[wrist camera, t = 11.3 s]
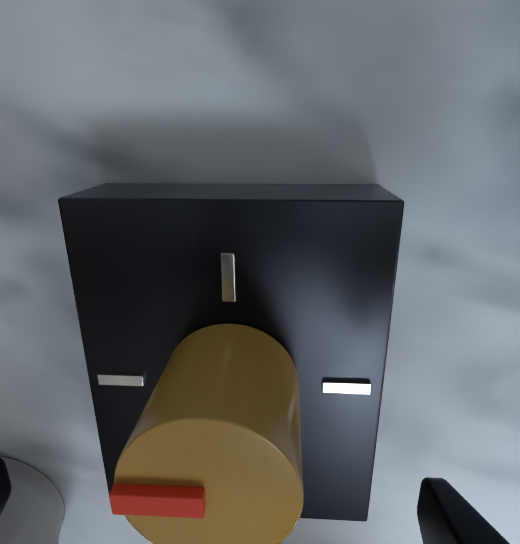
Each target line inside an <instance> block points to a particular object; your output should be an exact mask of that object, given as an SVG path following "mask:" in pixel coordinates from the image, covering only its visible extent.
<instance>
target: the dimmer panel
mask: <svg viewBox="0 0 520 544" xmlns="http://www.w3.org/2000/svg"><path fill="white" fill-rule="evenodd" d="M58 203H59V208H60V214H61V220H62V226H63V232H64V237H65V243H66V249H67V255H68V260H69V266H70V272H71V278H72V283H73V289H74V295H75V301H76V307H77V312H78V318H79V324H80V330H81V335H82V341H83V347H84V353H85V358H86V364H87V370H88V376H89V382H90V387H91V393H92V399H93V405H94V410H95V416H96V422H97V428H98V433H99V439H100V445H101V451H102V457H103V462H104V468H105V474H106V480H107V485H108V491H109V494H110V492H111V489H112V487H113V485H114V476H115V469H116V465H117V462H118V460H119V458H120V455H121V453H122V451H123V449H124V447H125V445H126V443H127V441H128V439H129V437H130V435H131V433H132V431H133V429H134V427H135V426H136V424H137V422H138V420H139V418H140V416H141V414H142V412H143V410H144V408H145V406H146V404H147V402H148V400H149V398H150V396H151V394H152V392H153V390H154V388H155V386H156V384H157V382H158V380H159V378H160V376H161V374H162V372H163V370H164V368H165V366H166V364H167V362H168V360H169V358H170V356H171V354H172V353H173V351H174V350H175V348H176V347H177V345H178V344H179V343H180V342H181V341H182V340H183V339H185V338H186V337H187V336H188V335H190V334H192V333H193V332H195V331H197V330H199V329H202V328H204V327H208V326H211V325H217V324H240V325H245V326H249V327H252V328H255V329H258V330H260V331H262V332H264V333H266V334H268V335H269V336H271V337H272V338H274V339H275V340H276V341H277V342H279V343H280V344H281V345H282V346H283V347H284V348H285V350H286V351H287V352H288V354H289V355H290V356H291V358H292V360H293V362H294V364H295V367H296V370H297V374H298V381H299V402H300V425H301V448H302V471H303V494H304V501H303V508H302V512H301V515H300V518H312V519H331V520H349V521H367V517H368V509H369V500H370V492H371V483H372V475H373V466H374V458H375V449H376V440H377V432H378V423H379V415H380V406H381V398H382V389H383V381H384V372H385V364H386V355H387V347H388V338H389V330H390V321H391V313H392V304H393V295H394V287H395V278H396V270H397V261H398V253H399V244H400V236H401V227H402V219H403V210H404V201H403V200H402V199H400V198H398V197H397V196H395V195H394V194H392V193H391V192H389V191H388V190H386V189H385V188H383V187H382V186H380V185H378V184H162V183H105V184H102V185H99V186H96V187H93V188H89V189H86V190H83V191H80V192H77V193H74V194H71V195H68V196H64V197H61V198H59V199H58Z"/></svg>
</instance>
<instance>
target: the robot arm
mask: <svg viewBox="0 0 520 544" xmlns="http://www.w3.org/2000/svg"><path fill="white" fill-rule="evenodd" d="M11 490H12V485H11V481H10V477H9V473H8V470H7V466H6V463H5V460H4V459H3V458H0V516H1V514H2V512H3V509H4V507H5V505H6V503H7V501H8V499H9V497H10V494H11ZM417 515H418V521H419V526H420V530H421V535H422V539H423V544H510V543H509V542H508V541H507V540H506V539H505V538H503V537H502V536H501V535H500V534H499V533H498V532H497V531H496V530H495V529H494V528H493V527H492V526H491V525H490V524H489V523H488V522H487V521H486V520H485V519H484V518H483V517H482V516H481V515H480V514H479V513H478V512H477V511H476V510H475V509H474V508H473V507H472V506H471V505H470V504H469V503H468V502H467V501H466V500H465V499H464V498H463V497H462V496H461V495H460V494H459V493H458V492H457V491H456V490H455V489H454V488H453V487H452V486H451V485H450V484H449V483H448V482H447V481H446V480H444V479H442V478H427V477H426V478H424V479H423V480H422V483H421V488H420V494H419V499H418V505H417Z"/></svg>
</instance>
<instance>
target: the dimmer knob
mask: <svg viewBox="0 0 520 544" xmlns="http://www.w3.org/2000/svg"><path fill="white" fill-rule="evenodd" d="M109 498H110V503H111V508H112V513H113V514H117V515H125V517H126V519H127V520H128V521H129V522H130V524H131V525H132V526H133V527H134V528H135V529H136V530H137V531H138V532H139V533H140V534H141V535H142V536H144V537H145V538H146V539H148V540H149V541H150V542H152V543H153V544H280V543H281V542H282V541H283V540H284V539H285V538H286V537H287V536H288V535H289V534H290V533H291V532H292V530H293V529H294V528H295V526H296V524H297V522H298V520H299V518H300V515H301V512H302V508H303V501H304V494H303V471H302V448H301V425H300V402H299V381H298V374H297V370H296V367H295V364H294V362H293V360H292V358H291V356H290V355H289V354H288V352H287V351H286V350H285V348H284V347H283V346H282V345H281V344H280V343H279V342H277V341H276V340H275V339H274V338H272V337H271V336H269V335H268V334H266V333H264V332H262V331H260V330H258V329H255V328H252V327H249V326H245V325H240V324H217V325H211V326H208V327H204V328H202V329H199V330H197V331H195V332H193V333H192V334H190V335H188V336H187V337H186V338H185V339H183V340H182V341H181V342H180V343H179V344H178V345H177V347H176V348H175V350H174V351H173V353H172V354H171V356H170V358H169V360H168V362H167V364H166V366H165V368H164V370H163V372H162V374H161V376H160V378H159V380H158V382H157V384H156V386H155V388H154V390H153V392H152V394H151V396H150V398H149V400H148V402H147V404H146V406H145V408H144V410H143V412H142V414H141V416H140V418H139V420H138V422H137V424H136V426H135V427H134V429H133V431H132V433H131V435H130V437H129V439H128V441H127V443H126V445H125V447H124V449H123V451H122V453H121V455H120V458H119V460H118V462H117V465H116V469H115V476H114V485H113V487H112V489H111V492H110V494H109Z"/></svg>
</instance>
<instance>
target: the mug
mask: <svg viewBox="0 0 520 544" xmlns="http://www.w3.org/2000/svg"><path fill="white" fill-rule="evenodd" d="M0 458H3V459H4V460H5V463H6V466H7V470H8V473H9V477H10V481H11V485H12V490H11V494H10V497H9V499H8V501H7V503H6V505H5V507H4V509H3V512H2V514H1V516H0V544H58V539H59V534H60V530H61V526H62V523H63V519H64V514H65V509H64V503H63V500H62V497H61V495H60V493H59V492H58V490H57V488H56V487H55V486H54V484H53V483H52V482H51V481H50V480H49V479H48V478H47V477H46V476H44V475H43V474H42V473H41V472H39V471H38V470H36V469H34V468H33V467H31V466H29V465H27V464H25V463H22V462H20V461H17V460H14V459H10V458H5V457H0Z"/></svg>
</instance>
